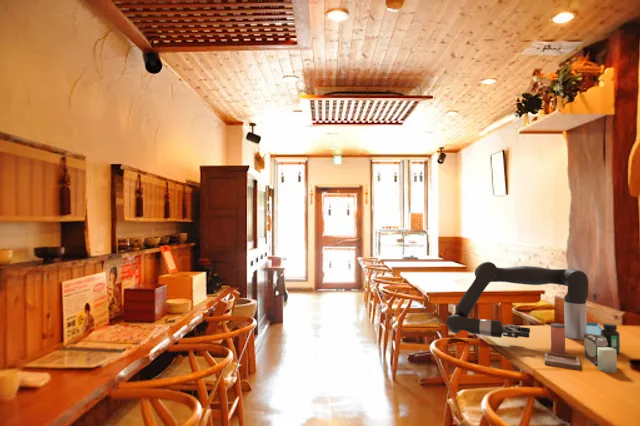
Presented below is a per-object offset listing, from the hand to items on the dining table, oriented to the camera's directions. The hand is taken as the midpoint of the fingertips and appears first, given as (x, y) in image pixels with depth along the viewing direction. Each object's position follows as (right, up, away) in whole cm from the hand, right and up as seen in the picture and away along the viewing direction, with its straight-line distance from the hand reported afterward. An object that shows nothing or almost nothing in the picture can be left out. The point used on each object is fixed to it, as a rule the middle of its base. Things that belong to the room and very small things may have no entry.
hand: (529, 332), depth 184 cm
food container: (+19, -7, -18) cm, 27 cm away
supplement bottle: (+33, -7, -5) cm, 34 cm away
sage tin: (+16, -7, -26) cm, 32 cm away
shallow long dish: (+47, -8, +28) cm, 55 cm away
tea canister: (+10, -7, -5) cm, 13 cm away
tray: (+4, -7, -18) cm, 20 cm away
